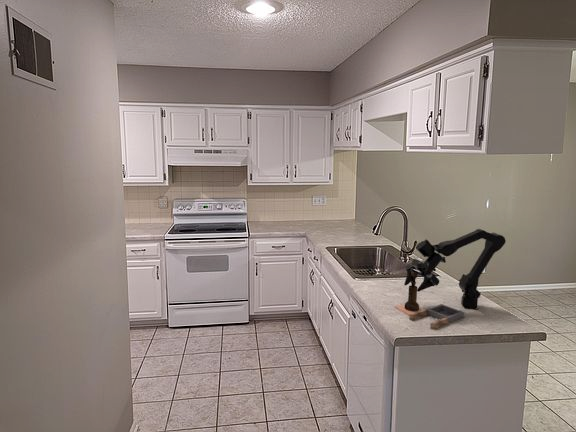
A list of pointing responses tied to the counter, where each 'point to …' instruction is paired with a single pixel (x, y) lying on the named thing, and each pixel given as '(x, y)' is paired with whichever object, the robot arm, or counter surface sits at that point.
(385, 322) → the counter surface
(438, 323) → the walnut channel
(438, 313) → the charcoal box
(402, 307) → the terracotta tile
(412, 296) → the wooden pepper mill
